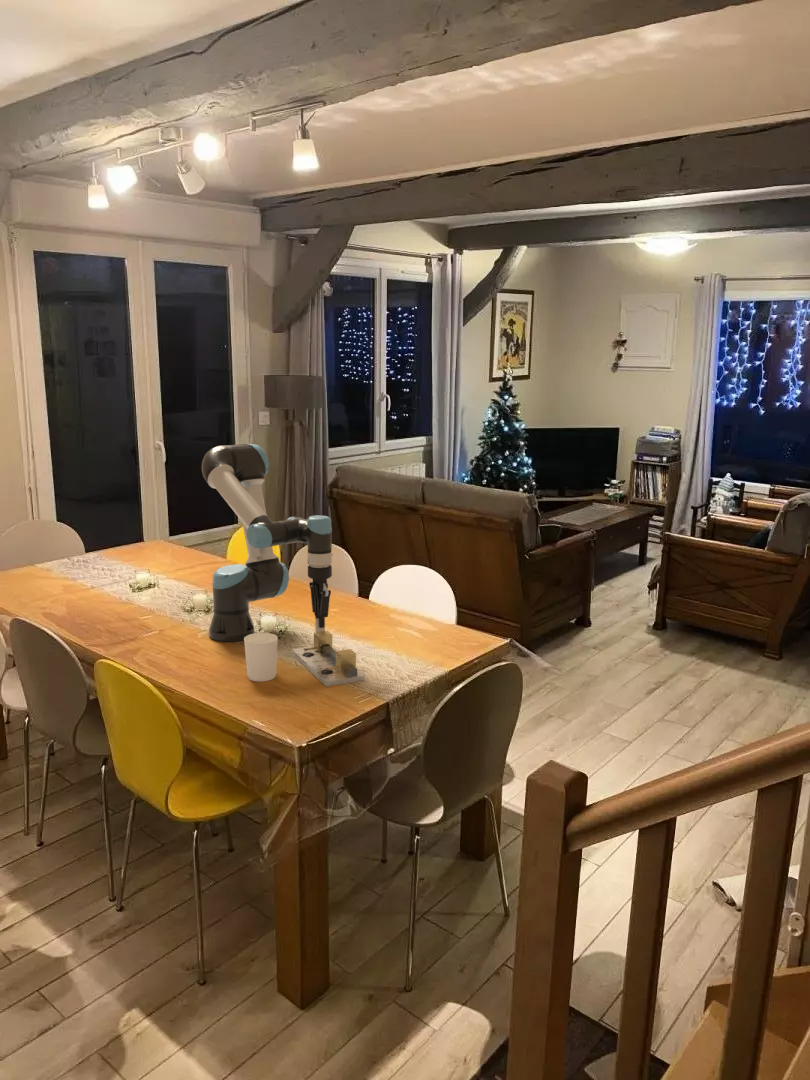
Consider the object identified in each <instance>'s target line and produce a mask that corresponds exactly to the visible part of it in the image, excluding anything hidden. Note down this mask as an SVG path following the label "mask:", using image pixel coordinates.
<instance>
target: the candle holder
mask: <svg viewBox="0 0 810 1080" xmlns="http://www.w3.org/2000/svg"><path fill="white" fill-rule="evenodd" d="M278 640H279V637H278V635H277V634H274V633H269V632H256V633H254V634H250V635H247V636H246V637H245V638H244V640H243V641H244V653H245V664H246V676H247V677H246V678H247V679H248V680H249V681H253V682H260V683H261V682H269V681H272V680H273V679H276V676H277V663H278V660H277V659H278Z"/></svg>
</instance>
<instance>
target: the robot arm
mask: <svg viewBox="0 0 810 1080" xmlns="http://www.w3.org/2000/svg"><path fill="white" fill-rule="evenodd" d="M269 467H270V462H269V457H268V456H267V453H266V451H265V450H264V449H263V448H262V446H261V445H258V444H253V443H252V444H251V443H243V444H242V443H241V444H240V443H239V444H229V445H217V446H214V447H212V448H210V449H209V450H208V451H207V452H206V453H205V454H204V456H203V459H202V461H201V473H202V477H203V478H204V480H205V482H206V483H207V484H208V486H209V487H210V488H212V489H216V491H217V492H218V493H219V494H220V496H221V497H222V498H223V500H224V501H225V502H226V503H227V505H228V506H229V507H230V509H232V511H233V512H234V514H235V515H236V516H237V517H238V518H239V520H240V521H241V522H242V527H243V533H244V537H245V545H246V551H247V559H246V561H245V563H244V564H241V563H238V564H237V563H236V564H228V565H224V566H220V568H216V570H215V571H214V573H213V574H212V575H213V576H212V584H211V585H212V598H213V599H212V600H213V616H212V618H211V621H210V625H209V628H208V636H209V638H211V639H212V640H214V641H217V642H218V641H219V642H237V641H238V642H239V641H244V638H245V637H246V636H247V635H250V634H254V633H255V626H254V623H253V620H252V617H251V614H250V606H249V605H250V604H249V603H252V602H256V601H262V600H267V599H273V598H275V597H278V596H282V595H283V594H284V593H285V592H286V590H287V588H288V587H289V583H290V582H289V581H290V579H289V578H290V575H289V570H288V569H289V568H288V567H287V566H286V564H285V563H284V562H280V557H279V556H278V555H277V554H275V553H274V550H273V547H275V546H281V545H289V544H294V543H295V544H297V543H303V544H307V565H308V566H307V577H308V579H312V581H310V582H309V584H308V585H309V589H310V598H311V599H310V600H311V609H312V613H314V618H315V619H314V620H315V625H314V626H315V629H314V630H315V632H314V633H316V632H323V631H326V618H327V617H329V610H330V608H329V607H330V598H331V597H330V596H331V595H332V594H331V593H332V591H331V589H329V590H328V588H329V584H328V580H329V579H330V578H331V577H332V576H333V573H332V572H333V569H332V567H333V566H332V560H333V559H332V557H333V556H334V555H333V553H332V550H333V549H332V543H333V542H332V537H333V535H332V533H333V528H332V518H330V517H329V516H327V515H318V514H317V515H310V516H308V518H307V519H306V518H303V517H300V516H290V517H288V518H287V519H285V520H278V521H272V519H271V518H270V517H269V516H268V515H267V510H266V504H265V500H264V494H263V493H264V492H263V488H262V486H263V484H264V483H265V481H266V480H265V476H267V474H268V472H269Z"/></svg>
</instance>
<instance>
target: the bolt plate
mask: <svg viewBox="0 0 810 1080" xmlns="http://www.w3.org/2000/svg"><path fill="white" fill-rule="evenodd" d="M310 647H314V645H313V646H306V647H300V648H299V647H298V648H292V649H291V654H292V655H293V656H294V657H295V658H296V660H298V661H299V662H300V663H301V664H302V665H303V666H304V667H305V668H306V669H307V671H309V672H310V673H311V674H312V675H313V676H314V677H316V678H317V680H318V681H320V683H322V684H323V686H324V687H331V686H338V685H344V684H350V683H356V682H363V681H365V674H363V673H362V671H360V670H358V668H357V665H356V663H357V652H356V651H354V650H353V649H351V648H350V649H342V650H341V649H340V650H336V649H335V648H333V646H332V647H331V646H330V645H328V644H326V645H321V651H319V652H318V651H317V650H316V649H313V650H307V651H304V648H310Z"/></svg>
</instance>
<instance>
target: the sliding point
mask: <svg viewBox="0 0 810 1080" xmlns="http://www.w3.org/2000/svg"><path fill="white" fill-rule="evenodd" d="M326 644H328V645H330V646H331V647H332V648H333V634H332V633H331V632H330V631H329V630H325V631H323V632H316V633H315V632H313V646H314V647H311V646H309V647H310V648H304V647H303V648H304V651H307V650H313V649H316V650H317V651H318V652H319V651H321V645H326Z"/></svg>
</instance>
